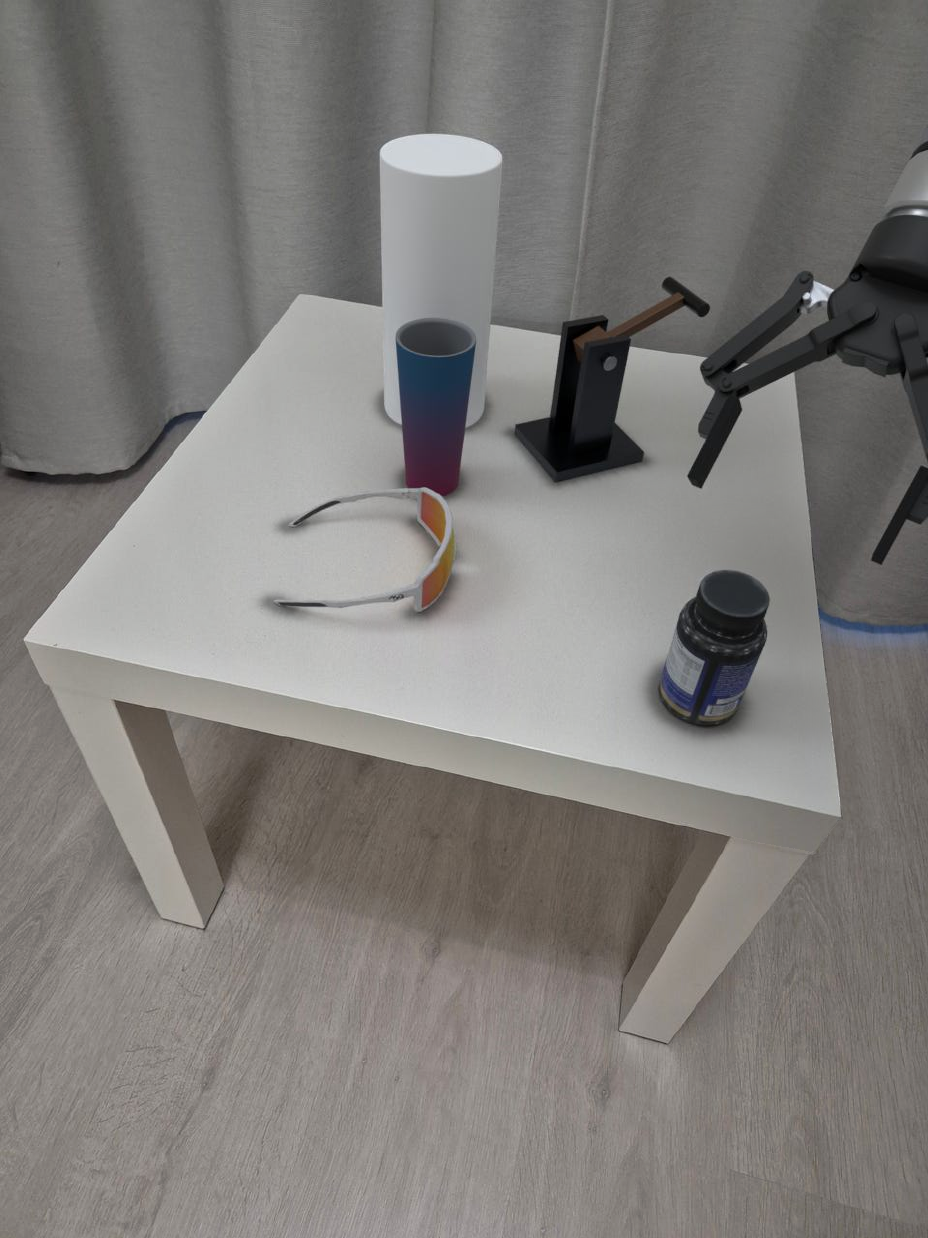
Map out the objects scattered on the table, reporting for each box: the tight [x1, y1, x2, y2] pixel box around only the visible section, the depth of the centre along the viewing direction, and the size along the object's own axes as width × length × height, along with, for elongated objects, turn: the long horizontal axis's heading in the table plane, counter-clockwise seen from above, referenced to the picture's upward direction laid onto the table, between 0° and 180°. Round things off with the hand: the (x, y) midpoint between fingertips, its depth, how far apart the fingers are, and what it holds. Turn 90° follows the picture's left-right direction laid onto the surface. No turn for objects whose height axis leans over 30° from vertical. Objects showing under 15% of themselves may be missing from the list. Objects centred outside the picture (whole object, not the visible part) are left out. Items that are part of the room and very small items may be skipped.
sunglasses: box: [273, 487, 458, 613], centre depth 74 cm, size 14×15×5 cm
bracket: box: [513, 314, 645, 483], centre depth 85 cm, size 10×9×13 cm
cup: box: [395, 318, 476, 497], centre depth 79 cm, size 7×7×15 cm
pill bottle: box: [658, 569, 771, 726], centre depth 63 cm, size 6×6×11 cm
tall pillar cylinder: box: [379, 133, 503, 429], centre depth 85 cm, size 11×11×25 cm
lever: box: [573, 276, 711, 363], centre depth 82 cm, size 12×6×2 cm, turn 115°
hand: (781, 520), depth 62 cm, fingers open, 13 cm apart
